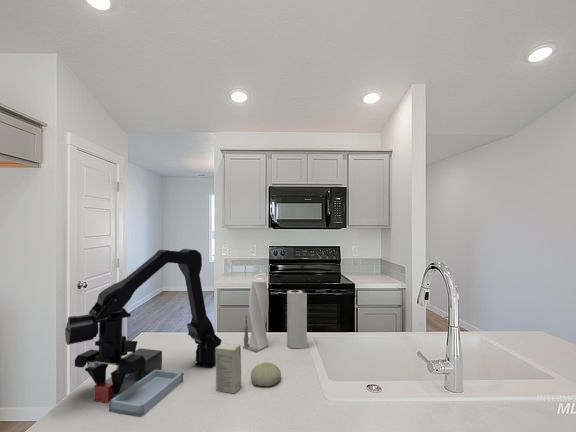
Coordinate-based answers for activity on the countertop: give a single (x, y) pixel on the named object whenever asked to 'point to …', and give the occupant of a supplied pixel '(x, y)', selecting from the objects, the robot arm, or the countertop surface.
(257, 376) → the sea urchin shell
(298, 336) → the paper towel roll
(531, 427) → the countertop surface
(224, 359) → the skincare box
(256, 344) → the skyscraper
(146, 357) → the block
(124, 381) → the pin
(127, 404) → the tray
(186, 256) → the robot arm
